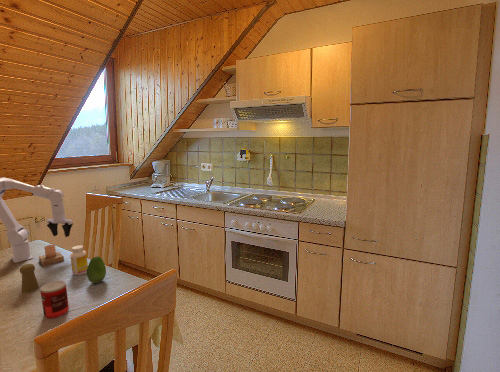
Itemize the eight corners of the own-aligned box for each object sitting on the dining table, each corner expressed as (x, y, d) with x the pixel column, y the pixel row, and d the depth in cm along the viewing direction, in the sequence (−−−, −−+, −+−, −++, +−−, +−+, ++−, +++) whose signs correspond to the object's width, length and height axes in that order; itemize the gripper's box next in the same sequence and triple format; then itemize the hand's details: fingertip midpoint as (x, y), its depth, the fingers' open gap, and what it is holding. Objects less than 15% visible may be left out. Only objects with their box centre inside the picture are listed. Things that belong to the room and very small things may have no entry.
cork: (42, 286, 128) (38, 263, 126) (28, 293, 123) (24, 269, 121) (32, 284, 130) (29, 261, 128) (18, 291, 125) (14, 267, 123)
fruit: (111, 279, 134) (108, 255, 132) (95, 288, 127) (92, 262, 125) (99, 276, 137) (96, 252, 135) (83, 284, 130) (80, 258, 128)
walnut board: (39, 261, 154) (38, 256, 154) (59, 255, 161) (58, 251, 160) (43, 266, 148) (43, 261, 148) (64, 260, 155) (63, 256, 154)
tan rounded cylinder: (44, 256, 154) (43, 246, 153) (54, 253, 157) (53, 243, 156) (47, 258, 151) (45, 248, 150) (57, 255, 154) (56, 246, 153)
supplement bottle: (91, 269, 144) (88, 244, 142) (82, 275, 138) (79, 250, 136) (78, 268, 145) (75, 244, 143) (69, 275, 139) (66, 249, 136)
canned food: (51, 307, 113) (47, 280, 111) (73, 306, 114) (69, 279, 112) (39, 319, 106) (35, 291, 104) (62, 318, 106) (58, 290, 104)
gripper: (40, 213, 156) (43, 237, 159) (63, 214, 154) (67, 239, 156) (51, 210, 163) (54, 233, 166) (74, 211, 160) (77, 234, 163)
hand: (61, 236), depth 161 cm, fingers open, 7 cm apart
